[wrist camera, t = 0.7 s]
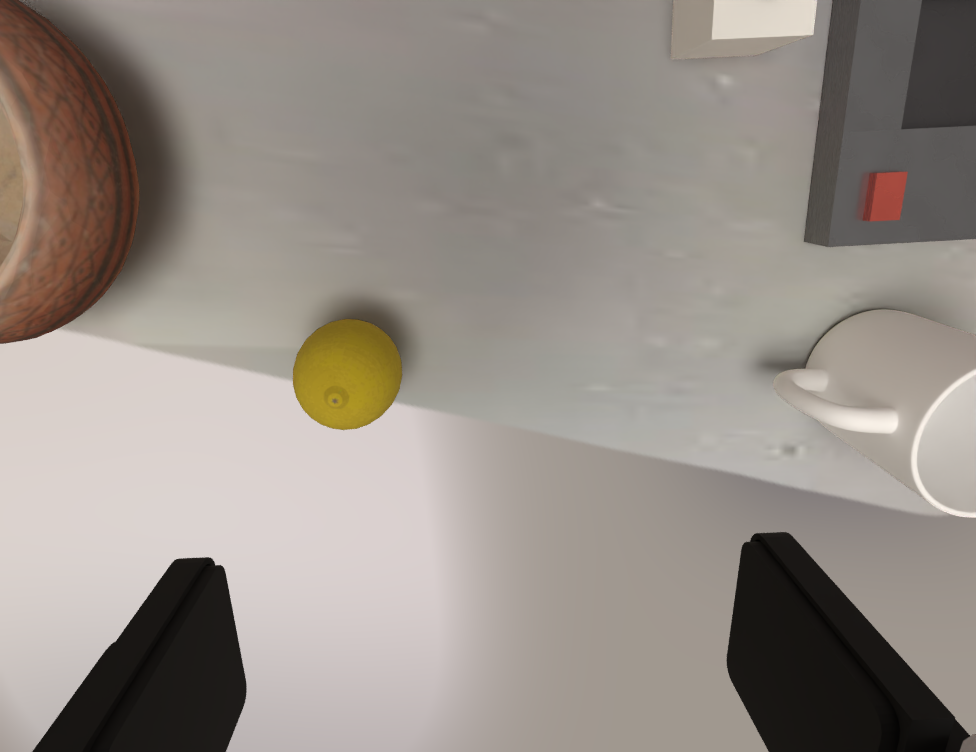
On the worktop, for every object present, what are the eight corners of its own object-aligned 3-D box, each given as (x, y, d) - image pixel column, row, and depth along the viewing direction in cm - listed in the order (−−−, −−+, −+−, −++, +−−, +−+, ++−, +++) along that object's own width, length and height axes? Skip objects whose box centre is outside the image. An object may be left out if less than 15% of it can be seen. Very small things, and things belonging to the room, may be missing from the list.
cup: (907, 435, 40) (1050, 521, 30) (728, 426, 39) (816, 512, 29) (948, 310, 37) (1118, 361, 28) (756, 298, 36) (863, 346, 27)
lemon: (295, 363, 36) (253, 416, 29) (343, 286, 35) (312, 320, 27) (376, 411, 38) (355, 474, 30) (425, 338, 36) (417, 385, 29)
